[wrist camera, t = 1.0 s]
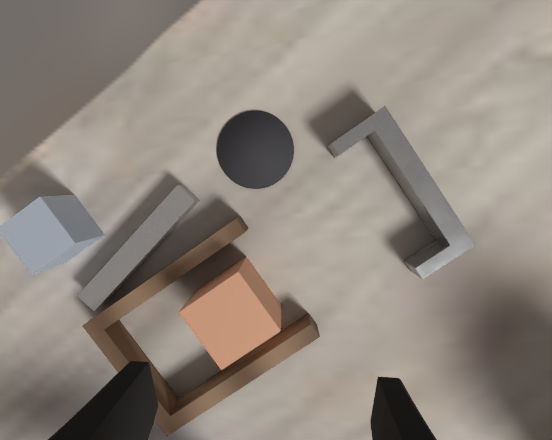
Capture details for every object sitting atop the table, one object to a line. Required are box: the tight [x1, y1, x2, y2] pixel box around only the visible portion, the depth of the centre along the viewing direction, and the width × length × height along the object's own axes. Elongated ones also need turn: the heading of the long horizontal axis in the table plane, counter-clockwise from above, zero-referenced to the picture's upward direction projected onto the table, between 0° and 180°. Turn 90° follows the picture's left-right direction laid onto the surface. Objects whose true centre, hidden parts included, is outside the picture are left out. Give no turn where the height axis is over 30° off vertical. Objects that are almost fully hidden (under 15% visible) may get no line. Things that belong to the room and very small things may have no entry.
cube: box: [179, 257, 281, 370], centre depth 26 cm, size 5×5×5 cm
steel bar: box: [77, 185, 200, 311], centre depth 27 cm, size 12×2×2 cm, turn 137°
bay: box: [83, 216, 320, 436], centre depth 27 cm, size 15×11×2 cm
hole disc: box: [217, 111, 294, 189], centre depth 27 cm, size 6×6×1 cm
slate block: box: [0, 195, 105, 275], centre depth 26 cm, size 4×4×4 cm
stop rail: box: [328, 106, 475, 279], centre depth 26 cm, size 4×12×2 cm, turn 35°
